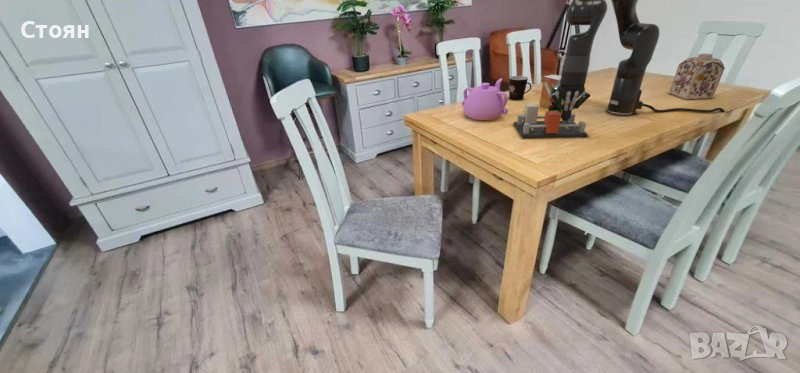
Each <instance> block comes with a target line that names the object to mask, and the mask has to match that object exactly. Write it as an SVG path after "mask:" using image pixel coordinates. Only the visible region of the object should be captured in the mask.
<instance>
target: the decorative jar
mask: <svg viewBox="0 0 800 373" xmlns="http://www.w3.org/2000/svg"><path fill="white" fill-rule="evenodd" d="M725 69H726V67H725V65H724V63H723V62H722V60H721V59H720V58H718V59H717V58H715V57H713V53H699V54H698V55H697V56H694V57H688V58H687V59H684V60H683V61H681V62H680V63H679V64H678V66H677V69H676V71H675V74H674V77H673V80H672V82H671V86H670V89H669V92H668V94H669V95H672V96H675V97H678V98H680V99H683V100H705V99H707V100H708V99H714V96H715V93H716V91H717V89H718V87H719V84H720V82H721V79H722V76H723V74H724V71H725Z"/></svg>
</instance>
